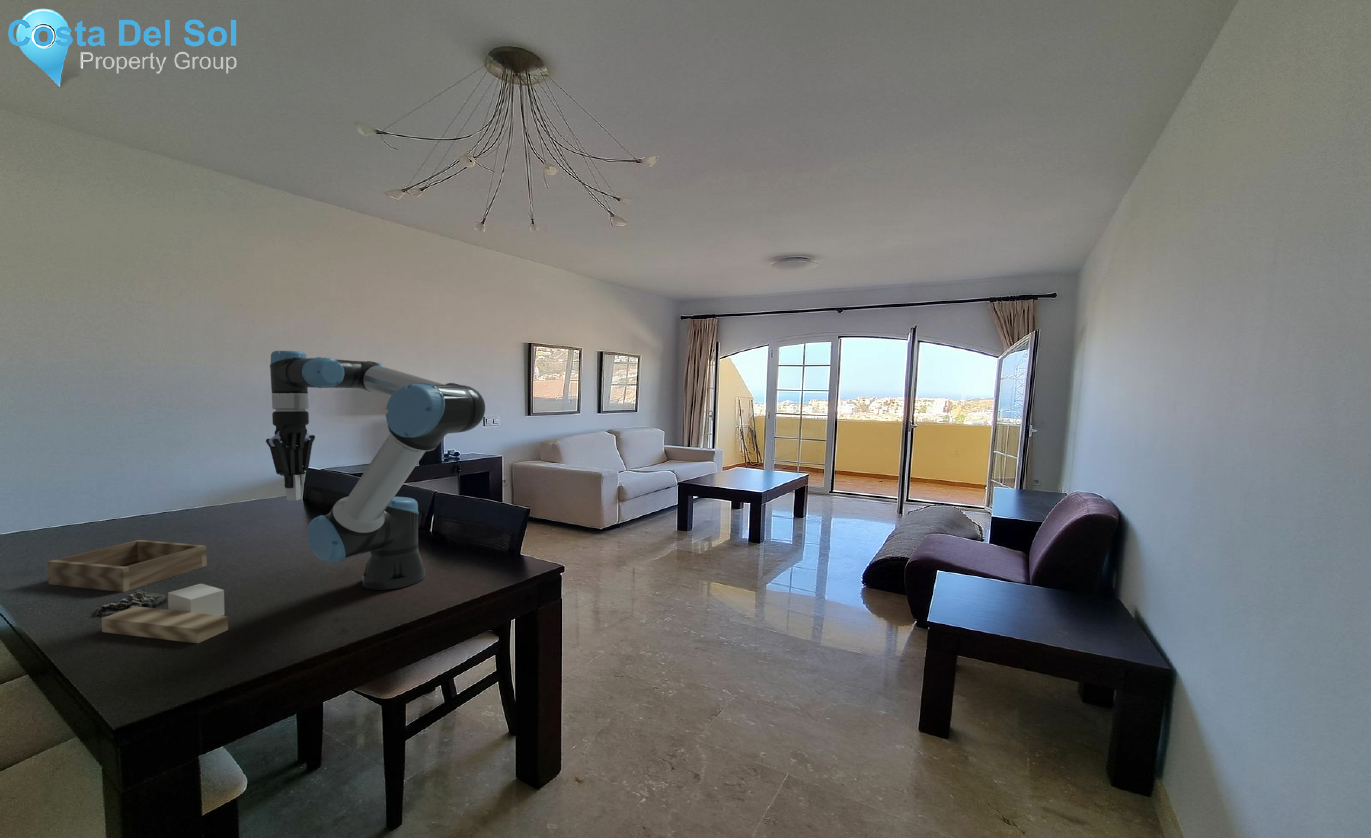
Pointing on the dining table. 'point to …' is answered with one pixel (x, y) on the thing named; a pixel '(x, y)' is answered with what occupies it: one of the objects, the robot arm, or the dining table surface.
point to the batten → (165, 624)
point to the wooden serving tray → (109, 573)
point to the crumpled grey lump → (132, 603)
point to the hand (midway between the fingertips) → (293, 499)
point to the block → (197, 600)
